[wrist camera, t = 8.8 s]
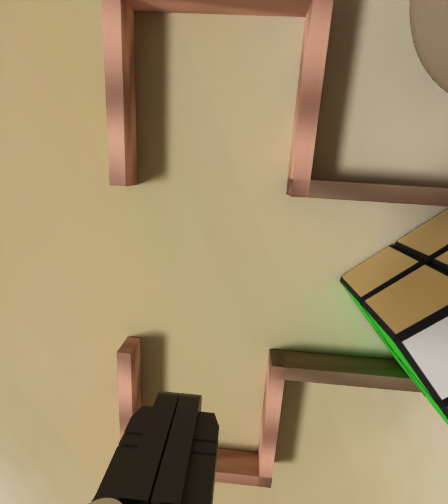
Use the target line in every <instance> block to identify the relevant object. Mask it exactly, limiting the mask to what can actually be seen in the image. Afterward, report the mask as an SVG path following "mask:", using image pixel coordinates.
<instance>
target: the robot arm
mask: <svg viewBox="0 0 448 504" xmlns="http://www.w3.org/2000/svg"><path fill="white" fill-rule="evenodd" d="M201 402H202V396H201V395H194V394H184V393H181V395H180V393H172V392H162V391H160V392H159V393H158V395H157V398H156V401H155V403H154V406H153V407H147V406H141V408H140V409H139V410H138V411H137V412H136V413H135V414H134V415H133V416H132V417H131V418H130V420H129V422H128V424H127V427H126V429H125V431H124V435H123V436H122V438H121V440H120V442H119V446H118V447H117V449H116V451H115V453H114V455H113V458H112V460H111V462H110V464H109V467H108V469H107V471H106V473H105V475H104V478H103V480H102V482H101V484H100V486H99V489H98V491H97V493H96V495H95V497H94V499H93V500H92V502H91V503H89V504H213V494H214V483H215V473H216V462H217V448H218V434H219V425H218V422H217V419H216V417H215V414H214V413H208V412H201Z"/></svg>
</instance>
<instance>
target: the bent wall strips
mask: <svg viewBox="0 0 448 504" xmlns="http://www.w3.org/2000/svg"><path fill="white" fill-rule="evenodd" d="M332 8H333V0H102V16H103V40H104V63H105V87H106V110H107V134H108V158H109V181H110V185H115V186H131V185H137V135H136V81H135V28H134V11H149V12H179V13H208V14H238V15H267V16H296V17H306V19H305V28H304V37H303V46H302V55H301V64H300V74H299V83H298V92H297V101H296V110H295V119H294V128H293V138H292V147H291V156H290V165H289V174H288V183H287V192H286V194H287V195H289V196H292V197H308V198H324V199H340V200H356V201H372V202H388V203H404V204H420V205H436V206H448V188H442V187H426V186H409V185H392V184H375V183H358V182H341V181H325V180H310V179H311V171H312V163H313V156H314V148H315V140H316V132H317V124H318V117H319V109H320V101H321V93H322V86H323V78H324V70H325V62H326V54H327V47H328V39H329V31H330V23H331V16H332ZM117 370H118V394H119V417H120V440H121V438H122V436H123V435H124V431H125V429H126V427H127V424H128V422H129V420H130V418H131V417H132V416H133V415H134V414H135V413H136V412H137V411H138V410H139V409H140V408H141V406H142V403H141V349H140V338H134V337H127V339H126V340H125V341H124V343H123V344H122V346H121V347H120V349H119V350H118V351H117ZM285 380H292V381H302V382H313V383H324V384H335V385H346V386H357V387H368V388H379V389H390V390H401V391H412V392H421V391H420V389H419V388H418V387H417V386H416V384H415V383H414V382H413V381H412V379H411V378H410V377H409V376H408V374H407V373H406V372H405V371H404V370H403V368H402V367H401V366H400V365H399V363H398V362H397V361H396V360H388V359H377V358H365V357H354V356H342V355H331V354H319V353H307V352H296V351H284V350H273V349H269V357H268V366H267V375H266V384H265V394H264V403H263V412H262V421H261V430H260V439H259V448H258V453H256V452H247V451H237V450H227V449H218V448H217V462H216V473H215V482H222V483H231V484H241V485H250V486H259V487H268V488H271V482H272V475H273V467H274V459H275V451H276V443H277V436H278V428H279V420H280V412H281V405H282V397H283V389H284V381H285Z"/></svg>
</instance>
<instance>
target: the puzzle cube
mask: <svg viewBox="0 0 448 504" xmlns="http://www.w3.org/2000/svg"><path fill="white" fill-rule="evenodd" d="M340 282H341V283H342V285H343V286H344V288H345V289H346V291H347V292H348V293H349V295H350V296H351V298H352V299H353V300H354V302H355V303H356V305H357V306H358V307H359V309H360V310H361V312H362V313H363V315H364V316H365V317H366V319H367V320H368V321H369V322H370V324H371V325H372V327H373V328H374V330H375V331H376V333H377V334H378V335H379V337H380V338H381V340H382V341H383V342H384V344H385V345H386V347H387V348H388V349H389V351H390V352H391V354H392V355H393V357H394V358H395V359H396V361H397V362H398V363H399V365H400V366H401V367H402V368H403V370H404V371H405V372H406V373H407V374H408V376H409V377H410V378H411V379H412V381H413V382H414V383H415V384H416V386H417V387H418V388H419V389H420V391H421V392H422V393H423V394H424V396H425V397H426V398H427V399H428V400H429V402H430V403H431V404H432V406H433V407H434V408H435V409H436V411H437V412H438V413H439V414H440V416H441V417H442V418H443V419H444V421H445V422H446V423H447V424H448V209H446V210H444V211H443V212H441V213H440V214H438V215H437V216H435V217H433V218H432V219H430V220H429V221H427V222H426V223H424V224H422V225H421V226H419V227H418V228H416V229H415V230H413V231H411V232H410V233H408V234H407V235H405V236H404V237H402V238H401V239H399V240H397V241H396V243H395V247H392V246H388V247H386V248H385V249H383V250H381V251H380V252H378V253H377V254H375V255H374V256H372V257H370V258H369V259H367V260H366V261H364V262H363V263H361V264H360V265H358V266H356V267H355V268H353V269H352V270H350V271H349V272H347V273H345V274H344V275H342V276H341V279H340Z"/></svg>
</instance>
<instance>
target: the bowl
mask: <svg viewBox="0 0 448 504" xmlns="http://www.w3.org/2000/svg"><path fill="white" fill-rule="evenodd" d="M410 25H411V32H412V38H413V42H414V46H415V49H416V52H417V54H418V57H419V59H420V61H421V63H422V65H423V67H424V68H425V70H426V71H427V73H428V74H429V75H430V76H431V78H432V79H433V80H434V81H435V82H436V83H437V84H438V85H439V86H440V87H441V88H442V89H444V90H445V91H446V92H447V93H448V0H410Z"/></svg>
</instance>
